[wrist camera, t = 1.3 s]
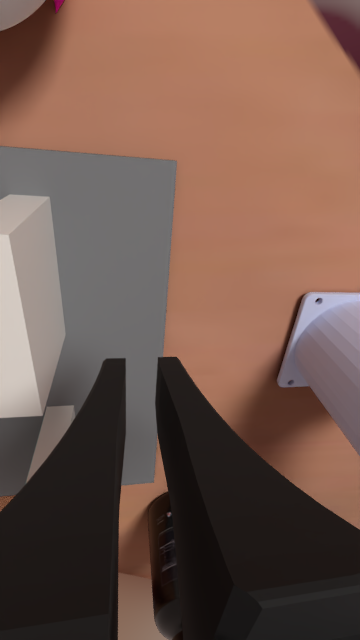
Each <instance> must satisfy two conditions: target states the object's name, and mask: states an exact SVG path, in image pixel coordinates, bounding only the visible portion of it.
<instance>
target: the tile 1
mask: <svg viewBox="0 0 360 640" xmlns="http://www.w3.org/2000/svg"><path fill="white" fill-rule="evenodd" d="M65 335H66V333H65V325H64V316H63V307H62V299H61V290H60V281H59V273H58V264H57V256H56V247H55V238H54V230H53V221H52V212H51V204H50V197H45V196H28V195H11V194H10V195H8V196H6V197H4V198H3V199H1V200H0V418H10V417H29V416H43V413H44V409H45V406H46V402H47V399H48V395H49V392H50V388H51V385H52V381H53V377H54V374H55V370H56V367H57V363H58V360H59V356H60V353H61V349H62V346H63V342H64V339H65Z"/></svg>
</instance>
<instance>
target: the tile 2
mask: <svg viewBox="0 0 360 640" xmlns="http://www.w3.org/2000/svg"><path fill="white" fill-rule="evenodd" d="M74 419H75V411H74V405H71V406H51V407H47V408H46V412H45V415H44V418H43V422H42V425H41V429H40V432H39V436H38V440H37V443H36V447H35V450H34V454H33V458H32V461H31V465H30V468H29V472H28V476H27V479H26V483H27V482H28V481H29V479H30V478H31V477H32V476H33V475H34V473H35V472H36V471H37V470H38V469H39V467H40V466H41V465H42V464H43V462H44V461H45V460H46V459H47V457H48V456H49V455H50V453H51V452H52V451H53V449H54V448H55V447H56V445H57V444H58V443H59V441H60V440H61V438H62V437H63V435H64V434H65V433H66V431H67V430H68V428H69V426H70V425H71V423H72V422H73V420H74ZM26 483H25V484H26Z"/></svg>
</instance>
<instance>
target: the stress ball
mask: <svg viewBox="0 0 360 640" xmlns="http://www.w3.org/2000/svg"><path fill="white" fill-rule="evenodd" d="M45 1H46V0H0V31H2V30H5V29H8V28H10V27H13V26H14V25H16V24H18V23H20V22H22V21H23V20H25V19H26V18H28V17H29V16H30V15H31V14H33V13H34V12H35V11H36V10H37V9H38V8H39V7H40V6H41V5H42V4H43V3H44V2H45ZM54 2H55V8H56V13H57V11H58V9H59V8H60V6H61V5H62V3H63V2H64V0H54Z"/></svg>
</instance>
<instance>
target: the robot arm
mask: <svg viewBox="0 0 360 640" xmlns="http://www.w3.org/2000/svg"><path fill="white" fill-rule="evenodd" d="M318 298H319V300H318V301H317V302H315V301H316V299H318ZM290 380H291V381H290ZM277 383H278V385H279V386H280V387H304V386H310V388H311V389H312V390H313V392H314V393H315V395H316V396H317V397H318V399H319V400H320V402H321V403H322V404H323V406H324V407H325V408H326V410H327V411H328V413H329V414H330V415H331V417H332V418H333V420H334V421H335V422H336V424H337V425H338V427H339V428H340V429H341V431H342V432H343V434H344V435H345V436H346V438H347V439H348V440H349V442H350V443H351V445H352V446H353V447H354V449H355V450H356V452H357V453H358V454H359V456H360V293H343V292H309V293H307V294H305V295H304V297H303V298H302V301H301V305H300V308H299V311H298V314H297V317H296V321H295V324H294V327H293V330H292V333H291V337H290V340H289V343H288V346H287V350H286V353H285V356H284V359H283V362H282V366H281V369H280V372H279V375H278V378H277ZM155 409H156V423H157V433H158V439H159V444H160V449H161V455H162V460H163V465H164V471H165V476H166V481H167V487H168V492H169V497H170V504H171V511H172V519H173V530H174V540H175V550H176V561H177V572H178V583H179V595H180V606H181V618H182V630H183V640H360V530H359V529H358V528H356V527H354V526H353V525H351V524H350V523H348V522H347V521H345V520H344V519H342V518H341V517H339V516H338V515H336V514H335V513H333V512H332V511H330V510H328V509H327V508H325V507H324V506H322V505H321V504H320V503H318V502H317V501H315V500H314V499H313V498H311V497H310V496H309V495H307V494H306V493H304V492H303V491H302V490H300V489H299V488H298V487H296V486H295V485H294V484H292V483H291V482H290V481H289V480H288V479H286V478H285V477H284V476H283V475H281V474H280V473H279V472H278V471H277V470H275V469H274V468H273V467H272V466H270V465H269V464H268V463H267V462H266V461H264V460H263V459H262V458H261V457H260V456H259V455H258V454H257V453H256V452H255V451H254V450H252V449H251V448H250V447H249V446H248V445H247V444H246V443H245V442H244V441H243V440H242V439H241V438H240V437H239V436H238V435H237V434H236V433H235V432H234V431H233V430H232V429H231V428H230V426H229V425H228V424H227V423H226V422H225V421H224V420H223V419H222V417H221V416H220V415H219V414H218V413H217V412H216V411H215V409H214V408H213V407H212V406H211V404H210V403H209V402H208V401H207V399H206V398H205V397H204V395H203V394H202V393H201V392H200V390H199V389H198V387H197V386H196V385H195V383H194V382H193V380H192V379H191V377H190V376H189V375H188V373H187V371H186V370H185V368H184V367H183V365H182V364H181V362H180V360H179V359H178V358H177V357H158V363H157V379H156V396H155ZM125 438H126V358H106V359H105V360H104V361H103V363H102V366H101V369H100V372H99V374H98V376H97V379H96V381H95V383H94V385H93V387H92V389H91V391H90V393H89V395H88V396H87V398H86V400H85V402H84V404H83V406H82V407H81V409H80V411H79V412H78V414H77V415H76V417H75V419H74V420H73V422H72V423H71V425H70V426H69V428H68V430H67V431H66V433H65V434H64V435H63V437H62V438H61V440H60V441H59V443H58V444H57V445H56V447H55V448H54V449H53V451H52V452H51V453H50V455H49V456H48V457H47V459H46V460H45V461H44V462H43V464H42V465H41V466H40V467H39V469H38V470H37V471H36V472H35V473H34V475H33V476H32V477H31V478H30V479H29V481H28V482H27V483H26V484H25V485H24V487H23V488H22V489H21V490H20V491H19V492H18V493H17V495H16V496H15V497H14V498H13V499H12V500H11V501H10V502H9V503H8V504H7V505H6V506H5V507H4V509H3V510H2V511H1V512H0V640H118V539H119V504H120V493H121V482H122V471H123V460H124V449H125Z"/></svg>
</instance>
